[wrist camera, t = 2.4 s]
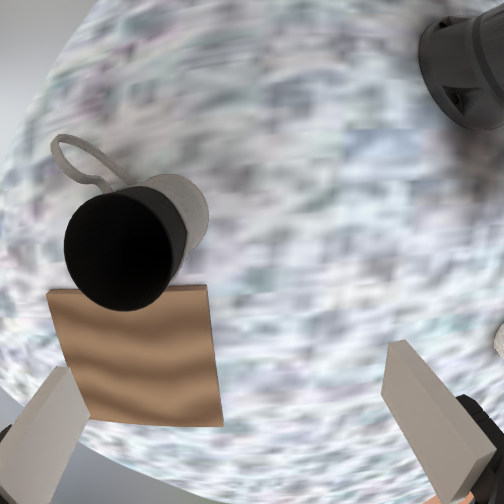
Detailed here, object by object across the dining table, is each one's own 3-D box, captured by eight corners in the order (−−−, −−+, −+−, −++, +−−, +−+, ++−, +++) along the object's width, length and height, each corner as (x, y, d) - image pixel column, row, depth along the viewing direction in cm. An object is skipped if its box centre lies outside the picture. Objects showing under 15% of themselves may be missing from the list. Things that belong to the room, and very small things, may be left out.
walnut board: (51, 289, 34) (45, 294, 33) (206, 284, 35) (205, 290, 33) (92, 412, 40) (88, 418, 38) (223, 419, 40) (223, 426, 39)
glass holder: (160, 272, 34) (113, 342, 20) (86, 169, 31) (-2, 178, 17) (225, 225, 33) (214, 272, 19) (146, 116, 30) (81, 86, 16)
